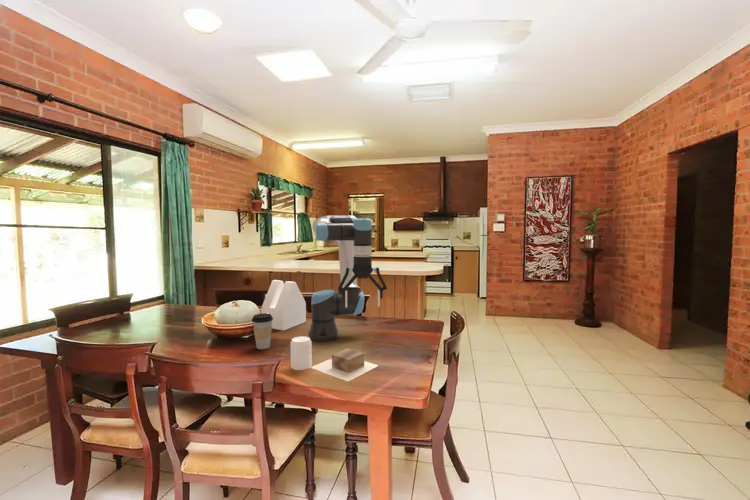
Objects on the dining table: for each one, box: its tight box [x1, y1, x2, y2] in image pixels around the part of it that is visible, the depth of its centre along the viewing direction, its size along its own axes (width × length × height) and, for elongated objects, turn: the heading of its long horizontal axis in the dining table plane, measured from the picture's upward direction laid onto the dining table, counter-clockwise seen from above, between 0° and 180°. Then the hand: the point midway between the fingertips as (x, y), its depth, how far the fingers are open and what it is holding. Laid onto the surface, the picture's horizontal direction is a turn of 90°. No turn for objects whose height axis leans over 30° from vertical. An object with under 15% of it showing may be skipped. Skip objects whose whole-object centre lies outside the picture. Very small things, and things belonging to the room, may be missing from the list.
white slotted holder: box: [261, 279, 307, 331], centre depth 199 cm, size 19×15×25 cm
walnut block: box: [331, 347, 365, 373], centre depth 137 cm, size 9×9×5 cm
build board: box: [309, 357, 379, 382], centre depth 137 cm, size 20×18×1 cm
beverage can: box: [290, 335, 313, 371], centre depth 137 cm, size 8×8×12 cm
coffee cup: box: [251, 313, 273, 350], centre depth 161 cm, size 9×9×15 cm
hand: (362, 306), depth 146 cm, fingers open, 13 cm apart
